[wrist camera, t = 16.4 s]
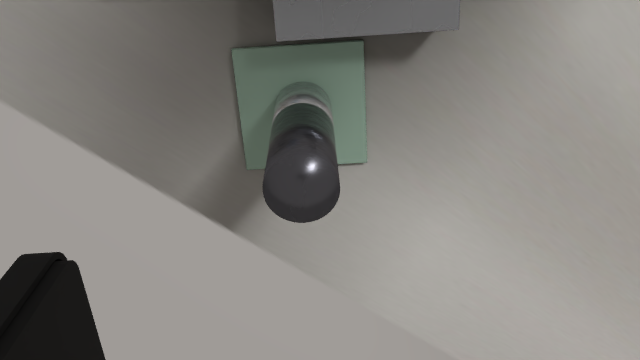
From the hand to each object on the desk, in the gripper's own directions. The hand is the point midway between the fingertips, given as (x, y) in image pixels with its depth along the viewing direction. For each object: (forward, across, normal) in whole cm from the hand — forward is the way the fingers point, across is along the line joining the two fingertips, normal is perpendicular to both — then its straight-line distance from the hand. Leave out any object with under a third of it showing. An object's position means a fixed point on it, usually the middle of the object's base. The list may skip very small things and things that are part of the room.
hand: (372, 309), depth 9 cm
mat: (+28, +2, +6) cm, 29 cm away
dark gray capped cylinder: (+28, +2, +6) cm, 29 cm away
